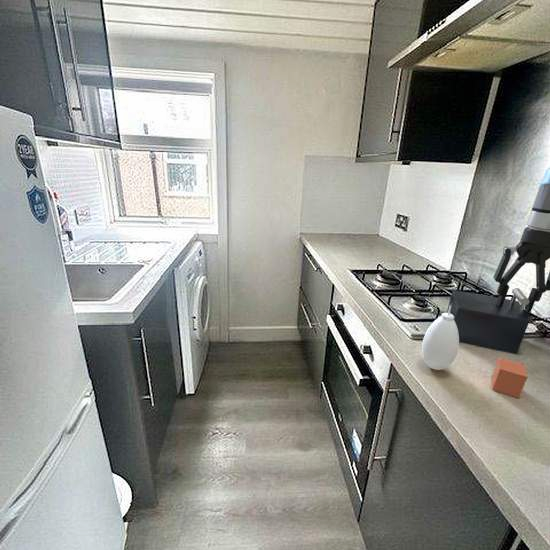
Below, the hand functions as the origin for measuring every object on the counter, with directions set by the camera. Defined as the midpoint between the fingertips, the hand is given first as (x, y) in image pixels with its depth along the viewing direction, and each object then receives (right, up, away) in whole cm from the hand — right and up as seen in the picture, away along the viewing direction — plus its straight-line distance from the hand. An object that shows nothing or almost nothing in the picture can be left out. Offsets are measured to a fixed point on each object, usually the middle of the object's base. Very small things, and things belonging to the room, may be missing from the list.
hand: (513, 307), depth 87 cm
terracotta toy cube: (-14, -17, -15) cm, 27 cm away
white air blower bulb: (-28, -15, -9) cm, 33 cm away
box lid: (-5, 0, +2) cm, 6 cm away
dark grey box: (-6, -9, +6) cm, 13 cm away
